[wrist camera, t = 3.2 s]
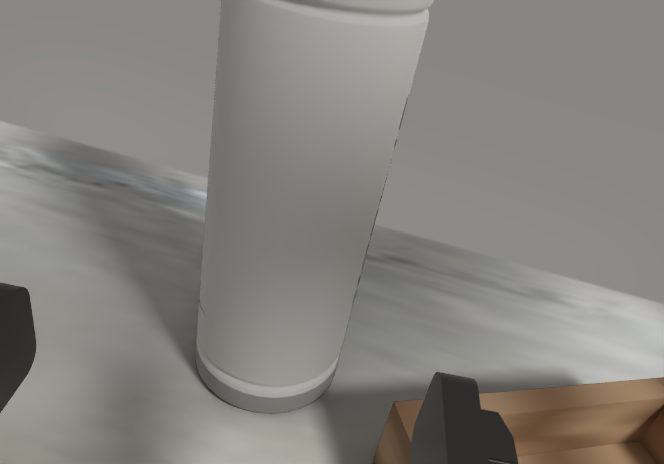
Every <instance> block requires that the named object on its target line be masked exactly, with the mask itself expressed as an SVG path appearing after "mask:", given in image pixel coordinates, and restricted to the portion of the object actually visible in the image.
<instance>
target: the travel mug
mask: <svg viewBox="0 0 664 464" xmlns="http://www.w3.org/2000/svg"><path fill="white" fill-rule="evenodd" d="M433 1H434V0H221V12H220V25H219V39H218V52H217V66H216V80H215V93H214V108H213V120H212V134H211V148H210V161H209V175H208V188H207V202H206V215H205V229H204V243H203V256H202V270H201V283H200V297H199V311H198V324H197V329H198V331H197V338H196V352H195V358H196V366H197V369H198V371H199V374H200V377H201V378H202V379H203V381H204V382H205V384H206V385H207V387H208V388H209V389H211V390H212V391H213V392H214V393H215V394H216V395H217V396H218V397H220V398H221V399H223V400H224V401H226V402H228V403H229V404H231V405H234V406H236V407H239V408H241V409H244V410H248V411H253V412H257V413H282V412H288V411H292V410H296V409H299V408H302V407H304V406H306V405H308V404H310V403H312V402H313V401H315V400H316V399H317V398H319V397H320V396H321V395H322V394H323V393H324V392H325V391H326V389H327V388H328V387H329V386H330V384H331V382H332V379H333V377H334V374H335V371H336V367H337V363H338V359H339V354H340V351H341V348H342V344H343V340H344V337H345V333H346V329H347V325H348V322H349V318H350V314H351V310H352V307H353V303H354V299H355V295H356V292H357V288H358V284H359V280H360V276H361V273H362V269H363V265H364V261H365V258H366V254H367V250H368V246H369V243H370V239H371V235H372V231H373V228H374V224H375V220H376V216H377V213H378V209H379V205H380V201H381V198H382V194H383V190H384V186H385V182H386V179H387V175H388V171H389V167H390V164H391V160H392V156H393V152H394V148H395V145H396V141H397V137H398V134H399V130H400V126H401V122H402V119H403V115H404V111H405V107H406V103H407V100H408V96H409V92H410V88H411V85H412V81H413V77H414V73H415V69H416V66H417V62H418V58H419V55H420V51H421V47H422V43H423V39H424V36H425V32H426V28H427V24H428V21H429V11H428V10H427V8H428V7H429V6H430V5H431V4H432V3H433Z"/></svg>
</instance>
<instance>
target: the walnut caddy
mask: <svg viewBox="0 0 664 464" xmlns="http://www.w3.org/2000/svg"><path fill="white" fill-rule="evenodd" d="M479 398H480V405H481V409H484V410H489V411H494V412H498V413H499V414H500V416H501V418H502V419H503V421H504V423H505V424H506V426H507V427H508V429H509V431H510V432H511V434H512V436H513V438H514V443H515V448H516V453H517V458H518V464H664V377H662V378H651V379H640V380H629V381H618V382H606V383H595V384H584V385H573V386H562V387H551V388H540V389H529V390H518V391H507V392H496V393H484V394H479ZM423 401H424V399H418V400H407V401H396V402H394V403H393V406H392V409H391V412H390V414H389V417H388V420H387V423H386V425H385V428H384V431H383V434H382V436H381V439H380V442H379V445H378V448H377V450H376V453H375V456H374V459H373V462H374V464H411V441H412V434H413V429H414V425H415V421H416V419H417V416H418V414H419V411H420V409H421V406H422V404H423Z"/></svg>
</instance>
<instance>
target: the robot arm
mask: <svg viewBox="0 0 664 464" xmlns="http://www.w3.org/2000/svg"><path fill="white" fill-rule="evenodd" d="M35 353H36V338H35V331H34V324H33V316H32V309H31V302H30V295H29V292H28V290H27V289H26V288H24V287H19V286H14V285H9V284H4V283H0V413H1V411H2V410H3V408H4V407H5V406H6V404H7V403H8V401H9V400H10V398H11V397H12V396H13V394H14V393H15V391H16V390H17V389H18V387H19V386H20V384H21V383H22V381H23V380H24V379H25V377H26V376H27V374H28V372H29V370H30V368H31V366H32V363H33V361H34V357H35ZM411 464H518V458H517V453H516V448H515V443H514V438H513V436H512V434H511V432H510V431H509V429H508V427H507V426H506V424H505V423H504V421H503V419H502V418H501V416H500V414H499V413H498V412H494V411H489V410H484V409H481V405H480V398H479V391H478V386H477V382H476V381H475V380H474V379H470V378H465V377H460V376H455V375H450V374H445V373H440V372H436V373H435V375H434V377H433V379H432V381H431V384H430V386H429V389H428V391H427V394H426V396H425V399H424V401H423V404H422V406H421V409H420V411H419V414H418V416H417V419H416V421H415V425H414V429H413V434H412V441H411Z"/></svg>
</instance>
